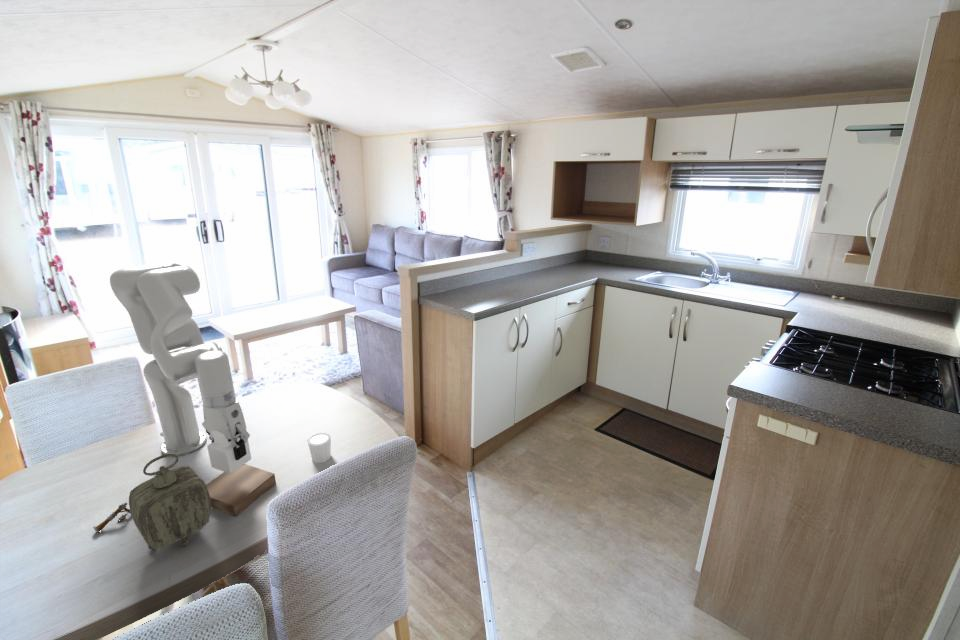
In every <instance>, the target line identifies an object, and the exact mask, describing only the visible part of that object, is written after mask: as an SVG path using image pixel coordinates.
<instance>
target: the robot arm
mask: <svg viewBox="0 0 960 640" xmlns="http://www.w3.org/2000/svg"><path fill="white" fill-rule="evenodd" d="M109 283H110V287H111V290H112V293H113V294H114V296H115V297H116V299H117V300H118V301H119V302H120V304H122V306H123V307H124V308H125V310H126V311H127V313H128V315H129V318H130V320H131V324H132V326H133V329H134V332H135V335H136V337H137V340H138V343H139V346H140V348H141V349H142V351H143V352H144V353H145V354H147V355H152V356H153V358H154V359H153V360H151V361H149V362H148V363H146V364H145V366H144V368H143V376H144V379H145V381H146V382H147V384H148V387H149V389H150V391H151V394H152V396H153V400H154V403H155V406H156V407H155V408H156V412H157V415H158V418H159V422H160V425H161V432H160V433H159V435H160V437H163V438H164V439H163V440H164V442H163V443H162V445H160V450H161V452H162V455H165V454H175V455H177V456H183V455H187V454H189V453H192V452H194V451H197V450H198V449H200V448H201V447H202V446H203V445H204V444H205V443H206V441H207V435H208V438H209V440H210V443H213V442H214V438H213V434H212V431H213V430H214V431H219V432H221V433H223V434H224V435H225V437H226V439H230V440H231V441H232V443H233V445H234V446H235V447H234V448H233V450H234V455H235V460H239V459H240V458H242V457H243V456H245V455H246V454H247V453H246V447H245V443H246V441H247V440H248V441H249V438H250V437H251V434H250V433H249V432H248V431H247V425H246V424H247V423H246V420H245V417H244V413H243V411H242V410H243V409H242V408H241V407H242V406H241V404H240V403H239V401H238V400H237V396H236V392H235V389H234V388H235V387H234V382H233V376H232V372H231V366H230V365H231V364H230V362H229V361H230V360H229V357H228V354H227V353H226V352H225V351H223V348H222V346H220V345H219V344H217V343H216V342H214V341H207V342H204V339H203V336H202V332H201V330H200V328H199V326H198V324H197V322H196V321H195V320H194V319H193V318H192V317H193V310H192V308H191V307H190V305H189V304H188V301H187V300H186V298H185V296H187V295H192V294H197V292H199V290H200V288H201V281H200V278H199V277H198V274H197V273H196V272H195V270H194V269H193V268H191V267H190V266H189V265H188V264H187V265H186V264H184V263H183V264H182V263H179V262H175V261H168V262H160V263H159V262H158V263H153V264H152V263H151V264H145V265H138V266H137V265H136V266H132V267H131V266H130V267H125V268H122V269H118V270H117V271H114V272H112V274H111V275H110V276H109ZM180 348H181V349H180ZM176 349H177V350H176ZM172 350H174V351H172ZM195 379H196V380H197V382H198V387H199V392H200V396H201V401H202V412H203V420H204V421H203V422H202V423H201V425H202V427H203V428H204V429H205V433H204V432H203V431H200V429H199V425H198V421H197V416H196V412H195V411H196V410H195V407H194V403H193V399H192V395H191V393H190V391H189V390H188V389H186V388H185V387H183V386H181V384H184V383H185V382H188V381H192V380H195ZM236 432H237V434H236ZM206 433H207V435H206ZM235 434H236V435H235ZM237 437H239V439H240V440H239V441H238V442H237V441H236V439H235V438H237Z"/></svg>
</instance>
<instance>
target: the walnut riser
mask: <svg viewBox="0 0 960 640" xmlns="http://www.w3.org/2000/svg"><path fill="white" fill-rule="evenodd" d="M275 475H276V474H275V473H273V472H270V471H267V470H264V469H261V468H258V467H255V466H253V465H249V464H246V463H245V464H244V465H242V466H241V467H239V468H238V469H237V470H235V471H234V472H232V473H231V474H229V473H226V472H224V471H222V473H220V474H219V475H218V476H216V477H214V478H213V479H212V480H211V481H209V482H208V483H205V485H206V487H207V489H208V492H209V495H210V501H211V509H212V508H213V509H214V510H218V511H220V512H223V513H226V514H229V515H231V516H233V517H238V515H240V514H241V513H242V512H243V511H245V510H246V509H247V508H249V506H251V505H252V504H253V503H254V502H255V501H256V500H258V499H259V498H260V497H262V496H263V495H264V494H265V493H266V492H267V491H269V490H270V489H272V488H273V487H274V486H275V485H276V484H277V481H276V476H275Z"/></svg>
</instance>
